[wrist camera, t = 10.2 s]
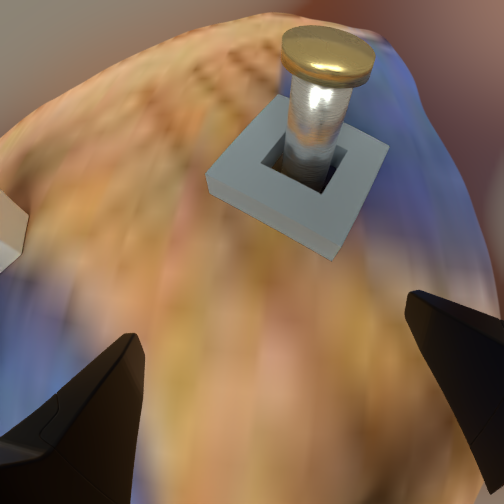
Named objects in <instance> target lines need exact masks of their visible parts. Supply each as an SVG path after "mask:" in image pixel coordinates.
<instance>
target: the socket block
mask: <svg viewBox="0 0 504 504" xmlns="http://www.w3.org/2000/svg"><path fill="white" fill-rule="evenodd" d="M289 101H290V98H287V97H285V96H282V95H280V94H278V95H277V96H276V97H275V98H274V99H273V100H272V101H271V102H270V103H269V104H268V105H267V106H266V107H265V108H264V109H263V110H262V111H261V112H260V113H259V114H258V116H257V117H256V118H255V119H254V120H253V121H252V122H251V123H250V124H249V125H248V126H247V127H246V128H245V129H244V130H243V132H242V133H241V134H240V135H239V136H238V137H237V138H236V139H235V140H234V141H233V143H232V144H231V145H230V146H229V147H228V148H227V149H226V150H225V151H224V153H223V154H222V155H221V156H220V157H219V158H218V159H217V161H216V162H215V163H214V164H213V165H212V166H211V167H210V169H209V170H208V171H207V172H206V173H205V175H206V180H207V184H208V189H209V193H210V194H211V195H213V196H215V197H217V198H219V199H221V200H223V201H224V202H226V203H228V204H230V205H232V206H234V207H236V208H237V209H239V210H241V211H243V212H245V213H247V214H248V215H250V216H252V217H254V218H256V219H258V220H259V221H261V222H263V223H265V224H267V225H268V226H270V227H272V228H274V229H276V230H277V231H279V232H281V233H283V234H285V235H286V236H288V237H290V238H292V239H293V240H295V241H297V242H299V243H301V244H302V245H304V246H306V247H308V248H309V249H311V250H313V251H315V252H316V253H318V254H320V255H322V256H323V257H325V258H327V259H329V260H330V261H332V260H333V259H334V257H335V256H336V254H337V253H338V251H339V250H340V248H341V247H342V245H343V243H344V241H345V239H346V237H347V235H348V233H349V231H350V229H351V227H352V225H353V223H354V221H355V219H356V217H357V215H358V213H359V211H360V209H361V207H362V205H363V203H364V201H365V199H366V197H367V195H368V193H369V191H370V188H371V186H372V184H373V182H374V180H375V178H376V176H377V173H378V171H379V169H380V167H381V165H382V162H383V160H384V158H385V156H386V154H387V151H388V149H389V147H390V146H388V145H386V144H385V143H383V142H381V141H379V140H377V139H375V138H374V137H372V136H370V135H368V134H366V133H364V132H362V131H360V130H358V129H356V128H354V127H352V126H350V125H348V124H346V123H344V122H343V125H342V128H341V131H340V135H339V138H338V141H337V144H336V148H335V151H334V154H333V157H332V160H331V164H330V165H331V166H333V167H335V168H337V170H336V172H335V173H334V175H333V177H332V178H331V180H330V182H329V183H328V185H327V187H326V188H325V190H324V192H323V193H322V194H320V193H318V192H316V191H314V190H312V189H311V188H309V187H307V186H305V185H303V184H301V183H299V182H297V181H295V180H293V179H291V178H289V177H287V176H285V175H283V174H281V173H279V172H277V171H275V170H273V169H271V168H272V166H273V165H274V164H275V163H276V161H277V160H278V159H279V157H280V156H281V155H282V153H283V152H284V145H285V137H286V128H287V119H288V110H289Z"/></svg>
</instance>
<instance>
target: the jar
mask: <svg viewBox="0 0 504 504" xmlns="http://www.w3.org/2000/svg"><path fill="white" fill-rule="evenodd" d="M28 218H29V215H28V214H27V213H26V212H25V211H24V210H22V209H21V208H20V207H19V206H18V205H17V204H16V203H15V202H13V201H12V200H11V199H10V198H9V197H8V196H7V195H6V194H5V193H4V191H2V190H1V189H0V273H1V272H2V271H4V270H5V269H6V268H7V267H8V266H9V265H10V264H11V263H12V262H14V261H15V260H16V259H17V258H18V257H19V256H20V255H21V254H22V249H23V243H24V238H25V233H26V228H27V223H28Z"/></svg>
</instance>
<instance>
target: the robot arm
mask: <svg viewBox="0 0 504 504" xmlns="http://www.w3.org/2000/svg"><path fill="white" fill-rule="evenodd" d="M405 319H406V321H407V323H408V325H409V327H410V330H411V332H412V334H413V336H414V338H415V341H416V343H417V345H418V347H419V349H420V351H421V353H422V355H423V357H424V359H425V361H426V362H427V364H428V366H429V368H430V369H431V371H432V373H433V375H434V377H435V378H436V380H437V382H438V384H439V386H440V388H441V390H442V391H443V393H444V395H445V397H446V399H447V401H448V403H449V405H450V407H451V409H452V411H453V413H454V415H455V417H456V419H457V421H458V423H459V425H460V427H461V429H462V431H463V433H464V435H465V437H466V440H467V442H468V444H469V446H470V449H471V451H472V453H473V455H474V458H475V460H476V462H477V465H478V467H479V469H480V472H481V474H482V477H483V479H484V481H485V484H486V486H487V489H488V491H489V493H490V494H493V493H494V492H496V491H497V490H498V489H500V488H501V487H502V486H504V320H499V319H498V318H495V317H493V316H490V315H487V314H485V313H482V312H479V311H477V310H474V309H471V308H469V307H466V306H463V305H460V304H458V303H455V302H452V301H449V300H447V299H444V298H441V297H438V296H436V295H433V294H430V293H427V292H424V291H422V290H415V291H411V292H409V293H408V296H407V301H406V307H405ZM144 370H145V354H144V351H143V348H142V345H141V343H140V340H139V338H138V336H137V334H136V333H125V334H123V335H122V336H121V337H119V338H118V339H117V340H116V341H115V342H114V343H112V344H111V345H110V346H109V347H108V348H107V349H106V350H104V351H103V352H102V353H101V354H100V355H99V356H97V357H96V358H95V359H94V360H93V361H92V362H91V363H89V364H88V365H87V366H86V367H85V368H84V369H83V370H81V371H80V372H79V373H78V374H77V375H76V376H75V377H73V378H72V379H71V380H70V381H69V382H68V383H67V384H66V385H64V386H63V387H62V388H61V389H60V390H59V391H58V392H57V394H54V395H53V396H52V397H51V398H50V399H49V400H48V401H46V402H45V403H44V404H43V405H42V406H41V407H39V408H38V409H37V410H36V411H34V412H33V413H32V414H31V415H29V416H28V417H27V418H25V419H24V420H23V421H21V422H20V423H19V424H17V425H16V426H15V427H13V428H12V429H11V430H9V431H8V432H7V433H5V434H4V435H3V436H1V437H0V504H130V500H131V489H132V479H133V469H134V460H135V452H136V444H137V436H138V429H139V422H140V416H141V409H142V402H143V391H144Z"/></svg>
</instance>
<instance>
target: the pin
mask: <svg viewBox="0 0 504 504" xmlns="http://www.w3.org/2000/svg"><path fill="white" fill-rule="evenodd" d="M374 61H375V52H374V51H373V49H372V48H371V47H370V46H369V45H368V44H367V43H366V42H365V41H363V40H362V39H360V38H358V37H357V36H355V35H353V34H350V33H348V32H345V31H342V30H339V29H335V28H331V27H325V26H313V25H309V26H299V27H295V28H292V29H290V30H288V31H286V32H285V33H284V35H283V37H282V49H281V62H282V64H283V66H284V67H285V68H286V69H287V70H288V71H289V72H290V73H292V82H291V92H290V101H289V110H288V119H287V128H286V137H285V145H284V154H283V162H282V170H281V174H283V175H285V176H287V177H289V178H291V179H293V180H295V181H297V182H299V183H301V184H303V185H305V186H307V187H309V188H311V189H312V190H314V191H316V192H318V193H319V192H320V191H321V190H322V188H323V186H324V182H325V179H326V176H327V173H328V170H329V167H330V164H331V160H332V157H333V154H334V151H335V148H336V144H337V141H338V138H339V135H340V131H341V128H342V125H343V121H344V118H345V114H346V111H347V108H348V104H349V101H350V97H351V94H352V90H353V88H355V87H359V86H361V85H363V84H365V83H366V82H367V81H368V80H369V77H370V74H371V71H372V68H373V64H374Z"/></svg>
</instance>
